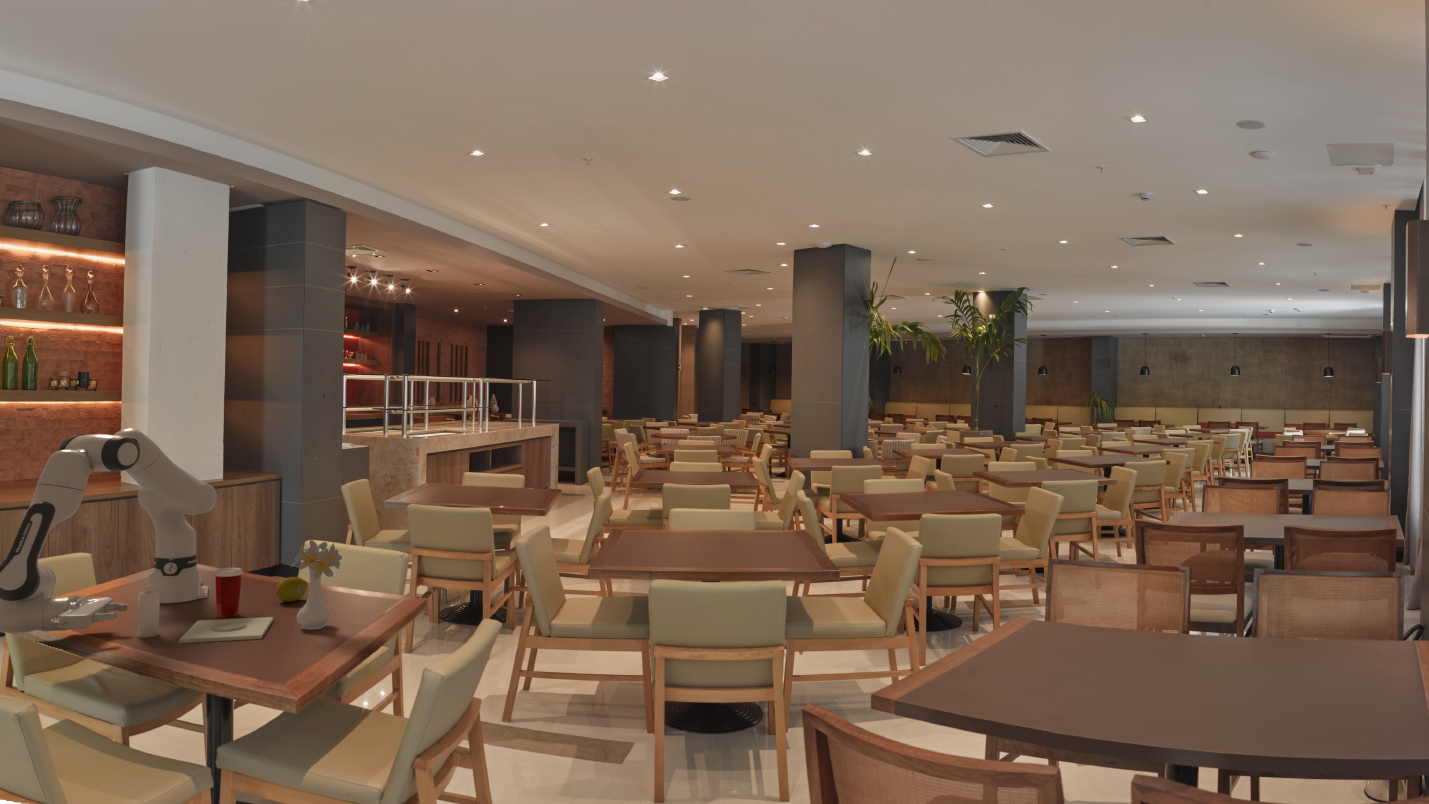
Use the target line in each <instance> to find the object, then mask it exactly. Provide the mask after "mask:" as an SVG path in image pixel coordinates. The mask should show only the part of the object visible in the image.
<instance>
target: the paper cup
mask: <svg viewBox="0 0 1429 804" xmlns="http://www.w3.org/2000/svg"><path fill="white" fill-rule="evenodd" d="M243 574H244V572H243V570H242V568H240V567H223V568H218V569H216V571H215V573H214V577H215V604H216V605H215V606H216V617H217V616H218V617H217V618H223V617H224V618H232V616H233V617H236V616H238V615H237V614H239V606H240V598H241V587H242V575H243Z"/></svg>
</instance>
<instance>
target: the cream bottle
mask: <svg viewBox="0 0 1429 804" xmlns="http://www.w3.org/2000/svg"><path fill="white" fill-rule="evenodd" d="M143 588H144V589H143V590H142V591H139V592H138V595H137V597H138V599H137V626H136V627H137V629H136V631H137V633H136V635H137V638H141V639H143V638H145V639H147V638H152V637H153V638H154V637H156V636H158V635H159V633H160V604H161V603H160V591H157V590H154V584H148V585H147V584H144V586H143Z"/></svg>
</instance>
